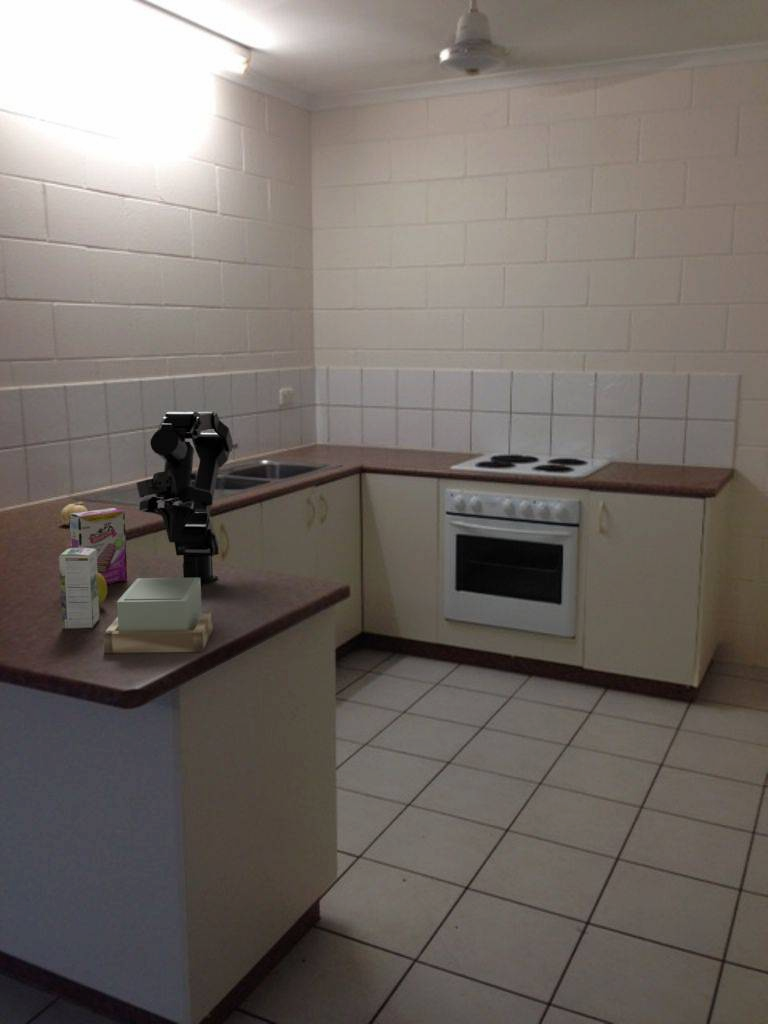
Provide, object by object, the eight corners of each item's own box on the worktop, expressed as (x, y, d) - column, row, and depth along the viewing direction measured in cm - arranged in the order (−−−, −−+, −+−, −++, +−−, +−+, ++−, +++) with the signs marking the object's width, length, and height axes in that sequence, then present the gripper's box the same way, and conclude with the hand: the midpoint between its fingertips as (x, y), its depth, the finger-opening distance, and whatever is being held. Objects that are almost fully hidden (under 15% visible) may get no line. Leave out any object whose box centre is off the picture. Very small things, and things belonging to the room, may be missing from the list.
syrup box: (70, 620, 179) (65, 547, 177) (101, 619, 180) (96, 547, 177) (62, 629, 174) (57, 554, 171) (94, 628, 174) (89, 554, 172)
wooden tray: (122, 630, 173) (120, 612, 172) (212, 629, 173) (212, 611, 173) (104, 653, 161) (103, 633, 160) (202, 651, 161) (201, 632, 161)
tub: (139, 623, 178) (137, 577, 176) (202, 622, 178) (200, 576, 177) (119, 651, 162) (116, 600, 161) (188, 649, 163) (185, 599, 161)
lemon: (111, 604, 190) (108, 566, 189) (104, 611, 185) (101, 573, 183) (84, 604, 190) (81, 566, 189) (76, 612, 185) (73, 573, 183)
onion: (72, 529, 265) (71, 505, 264) (55, 526, 270) (53, 502, 268) (95, 524, 272) (94, 500, 271) (78, 521, 276) (76, 498, 275)
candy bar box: (82, 590, 201) (78, 516, 198) (72, 585, 204) (67, 513, 201) (129, 580, 209) (125, 509, 205) (118, 576, 212) (114, 506, 209)
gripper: (120, 468, 193) (113, 541, 190) (170, 452, 180) (164, 530, 177) (166, 479, 201) (160, 549, 197) (217, 464, 188) (211, 539, 185)
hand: (172, 542), depth 189 cm, fingers closed
